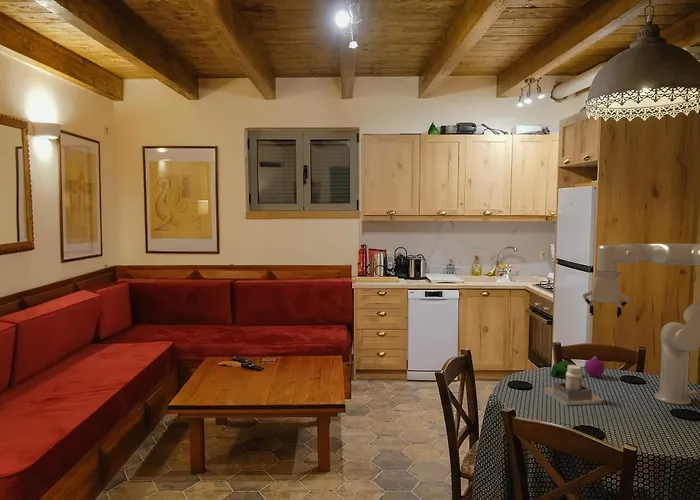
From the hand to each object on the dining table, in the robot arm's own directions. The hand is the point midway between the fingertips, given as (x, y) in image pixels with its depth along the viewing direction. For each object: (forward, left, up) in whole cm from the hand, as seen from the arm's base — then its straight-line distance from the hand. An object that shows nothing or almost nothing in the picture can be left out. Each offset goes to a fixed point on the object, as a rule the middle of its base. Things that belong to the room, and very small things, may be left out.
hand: (605, 316), depth 217 cm
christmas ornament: (-12, -22, -33) cm, 42 cm away
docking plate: (+14, +1, -33) cm, 36 cm away
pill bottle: (+14, +1, -32) cm, 35 cm away
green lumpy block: (+2, -25, -34) cm, 42 cm away
